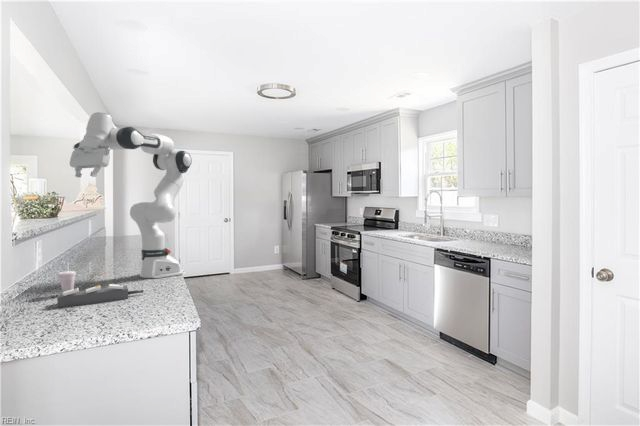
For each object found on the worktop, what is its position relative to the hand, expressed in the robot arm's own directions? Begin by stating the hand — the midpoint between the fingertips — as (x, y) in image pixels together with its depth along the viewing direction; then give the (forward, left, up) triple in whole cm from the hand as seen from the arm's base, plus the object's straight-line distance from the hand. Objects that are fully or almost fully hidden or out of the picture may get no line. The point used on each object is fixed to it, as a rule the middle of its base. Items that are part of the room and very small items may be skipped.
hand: (85, 176), depth 157 cm
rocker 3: (-9, +14, -47) cm, 50 cm away
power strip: (-5, +13, -51) cm, 53 cm away
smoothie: (+8, -4, -51) cm, 52 cm away
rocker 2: (-2, +14, -47) cm, 49 cm away
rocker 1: (+6, +14, -47) cm, 49 cm away
